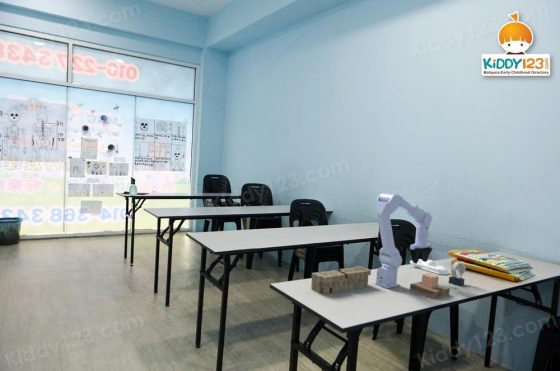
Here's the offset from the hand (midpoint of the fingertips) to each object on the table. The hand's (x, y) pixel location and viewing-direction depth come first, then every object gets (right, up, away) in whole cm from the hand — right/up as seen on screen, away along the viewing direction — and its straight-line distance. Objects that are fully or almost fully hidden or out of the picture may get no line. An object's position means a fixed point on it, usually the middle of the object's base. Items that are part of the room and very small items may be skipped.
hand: (419, 262), depth 193 cm
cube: (-2, -8, -17) cm, 19 cm away
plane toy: (+14, -9, +22) cm, 28 cm away
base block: (-2, -11, -17) cm, 20 cm away
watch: (+18, -11, -1) cm, 21 cm away
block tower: (-42, -9, -17) cm, 46 cm away
